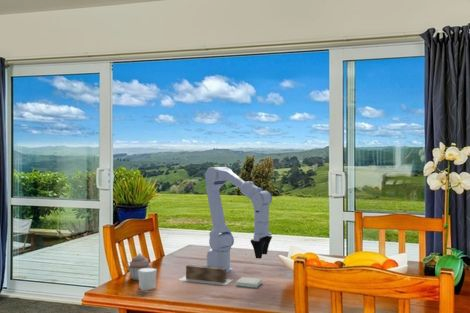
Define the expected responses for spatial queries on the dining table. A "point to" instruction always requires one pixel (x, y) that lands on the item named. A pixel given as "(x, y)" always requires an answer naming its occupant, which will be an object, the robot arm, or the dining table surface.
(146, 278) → the shot glass
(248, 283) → the tile
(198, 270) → the bar
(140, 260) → the cupcake
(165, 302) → the dining table surface
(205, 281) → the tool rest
